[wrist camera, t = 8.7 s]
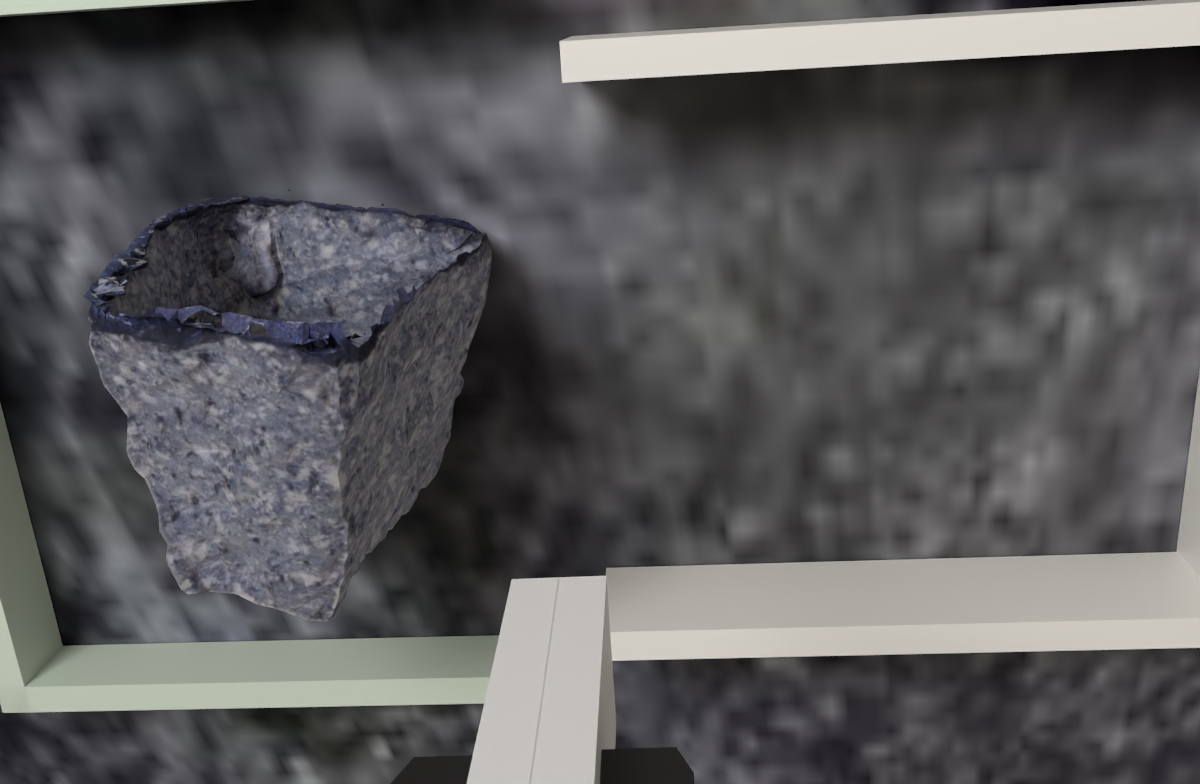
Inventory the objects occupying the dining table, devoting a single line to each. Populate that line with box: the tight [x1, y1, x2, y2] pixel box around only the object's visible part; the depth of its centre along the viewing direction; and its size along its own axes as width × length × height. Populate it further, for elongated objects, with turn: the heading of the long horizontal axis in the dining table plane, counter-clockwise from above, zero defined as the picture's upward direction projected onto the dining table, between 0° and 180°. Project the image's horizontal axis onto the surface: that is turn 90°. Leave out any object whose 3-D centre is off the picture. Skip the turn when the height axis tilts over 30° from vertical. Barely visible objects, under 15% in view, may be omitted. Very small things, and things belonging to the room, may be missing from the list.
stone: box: [84, 190, 492, 621], centre depth 30 cm, size 12×10×10 cm
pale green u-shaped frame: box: [0, 0, 499, 713], centre depth 34 cm, size 19×23×2 cm
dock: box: [559, 0, 1200, 661], centre depth 32 cm, size 20×18×4 cm
